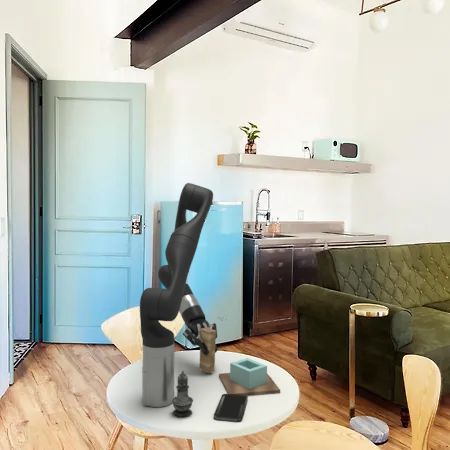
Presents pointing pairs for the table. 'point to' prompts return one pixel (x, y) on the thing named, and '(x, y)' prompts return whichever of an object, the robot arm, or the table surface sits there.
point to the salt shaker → (182, 398)
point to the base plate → (238, 389)
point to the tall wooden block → (209, 360)
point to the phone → (231, 408)
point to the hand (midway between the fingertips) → (211, 352)
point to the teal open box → (248, 373)
